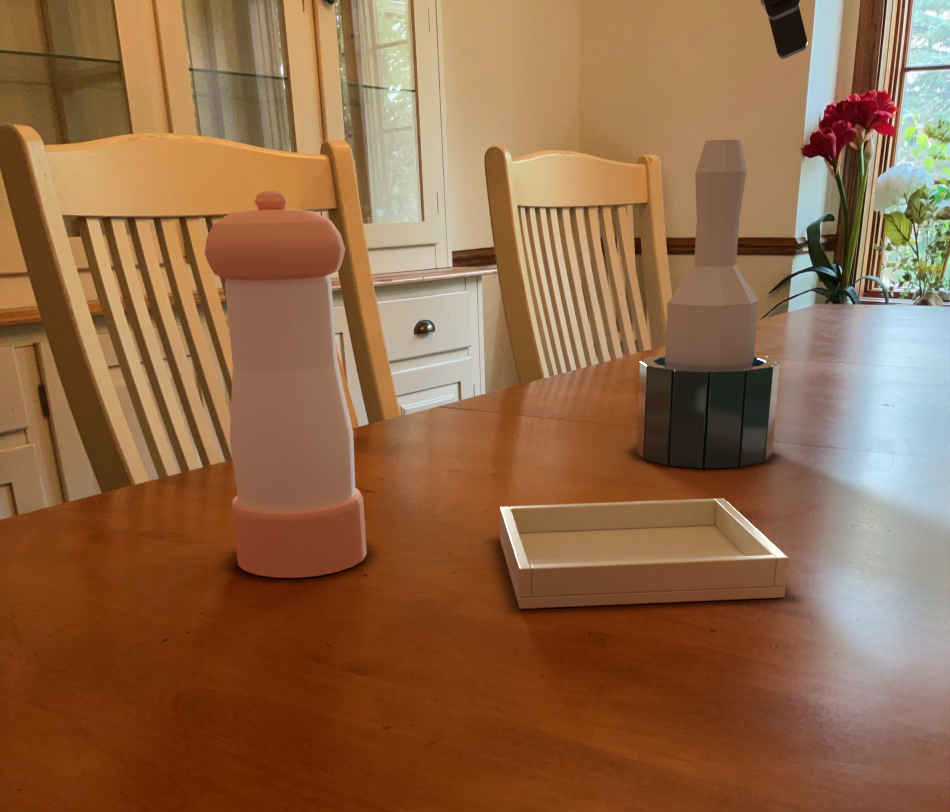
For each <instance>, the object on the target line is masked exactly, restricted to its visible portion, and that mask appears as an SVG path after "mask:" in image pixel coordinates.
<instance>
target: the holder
mask: <svg viewBox="0 0 950 812" xmlns="http://www.w3.org/2000/svg"><path fill="white" fill-rule="evenodd" d="M780 367H781V361H779V360H777V359H774V358H772V357H769V356H765V355H758V354H757V355H756V354H754V360H753V365H752V367H747V368H740V369H715V370H705V369H683V368H675V367H668V366H665V354H658V355H652V356H651V355H650V356H648V357H645V358H644V359H641V360H639V374H638V375H639V378H638V405H637V430H636V431H637V432H636V453H637V455H639V456H640V457H641V458H642V459H643V460H644V461H647V462H648V461H649V462H652V463H656V464H660V465H664V466H670V467H675V468H689V469H700V470H702V469H704V470H711V469H713V470H715V469H737V468H744V467H749V466H753V465H759V464H763V463H765V462H766V461H767V460H768V459H769V458H770V457H771V456H772V455H773V448H774V447H773V446H774V435H775V434H774V433H775V425H776V423H775V422H776V414H777V413H776V412H777V401H778V389H779V380H780V379H779V378H780V377H779V375H780Z"/></svg>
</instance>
